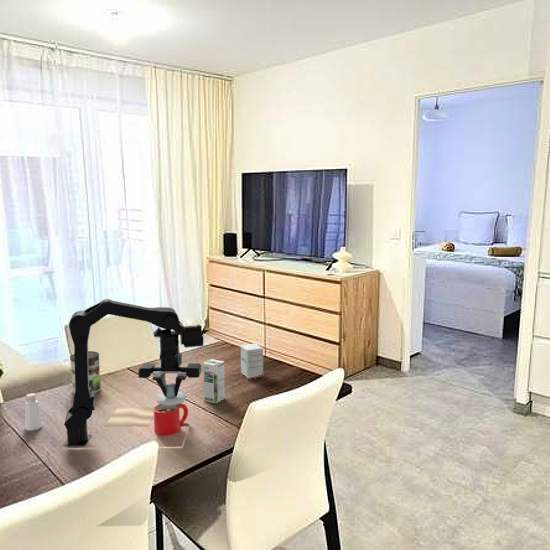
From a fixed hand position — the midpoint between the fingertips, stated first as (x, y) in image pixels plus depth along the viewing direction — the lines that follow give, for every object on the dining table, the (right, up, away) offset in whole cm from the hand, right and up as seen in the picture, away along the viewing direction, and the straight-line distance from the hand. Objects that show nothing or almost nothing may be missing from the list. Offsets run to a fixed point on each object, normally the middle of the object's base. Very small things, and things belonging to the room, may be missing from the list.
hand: (171, 396), depth 152 cm
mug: (0, -11, +2) cm, 11 cm away
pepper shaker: (-45, -11, +3) cm, 46 cm away
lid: (0, -1, 0) cm, 1 cm away
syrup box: (+11, -7, +24) cm, 27 cm away
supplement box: (+23, -4, +48) cm, 53 cm away
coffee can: (-39, -6, +33) cm, 52 cm away
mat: (-15, -10, +9) cm, 20 cm away
